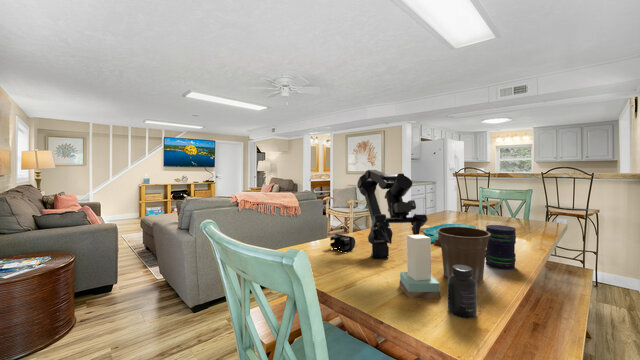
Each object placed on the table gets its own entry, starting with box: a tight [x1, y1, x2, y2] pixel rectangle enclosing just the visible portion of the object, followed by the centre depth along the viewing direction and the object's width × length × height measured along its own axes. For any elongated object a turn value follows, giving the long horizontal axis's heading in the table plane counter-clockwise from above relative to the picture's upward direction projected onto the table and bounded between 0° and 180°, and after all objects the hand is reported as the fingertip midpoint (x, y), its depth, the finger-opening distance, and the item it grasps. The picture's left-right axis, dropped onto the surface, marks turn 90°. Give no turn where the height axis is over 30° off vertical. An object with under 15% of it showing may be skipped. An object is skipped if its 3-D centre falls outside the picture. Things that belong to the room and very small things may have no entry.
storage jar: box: [485, 224, 517, 271], centre depth 108 cm, size 10×10×15 cm
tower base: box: [399, 280, 442, 300], centre depth 86 cm, size 9×9×2 cm
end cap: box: [329, 233, 356, 253], centre depth 132 cm, size 10×7×7 cm
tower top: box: [399, 271, 441, 292], centre depth 86 cm, size 9×9×2 cm
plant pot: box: [436, 226, 490, 284], centre depth 97 cm, size 16×16×16 cm
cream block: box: [406, 233, 432, 281], centre depth 86 cm, size 5×5×12 cm
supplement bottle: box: [447, 264, 478, 319], centre depth 73 cm, size 7×7×12 cm
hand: (404, 243), depth 96 cm, fingers open, 9 cm apart
